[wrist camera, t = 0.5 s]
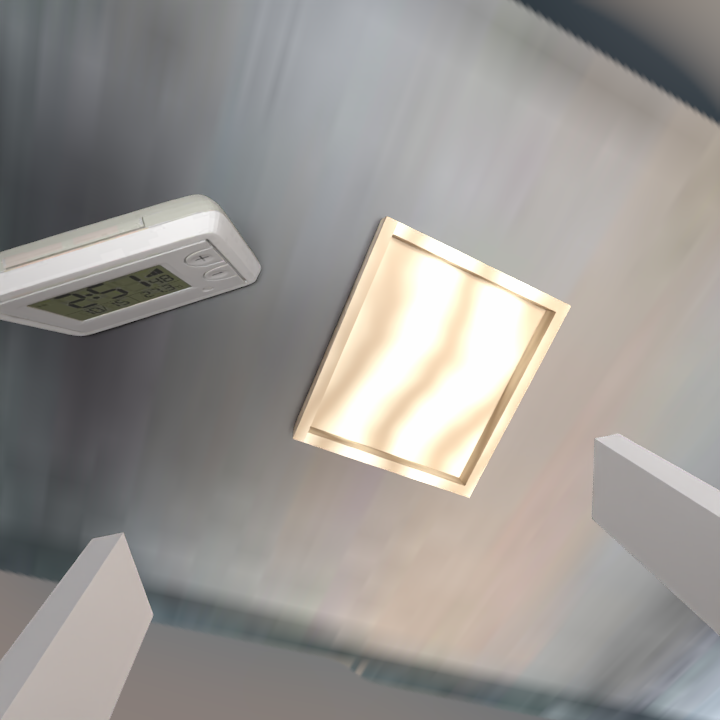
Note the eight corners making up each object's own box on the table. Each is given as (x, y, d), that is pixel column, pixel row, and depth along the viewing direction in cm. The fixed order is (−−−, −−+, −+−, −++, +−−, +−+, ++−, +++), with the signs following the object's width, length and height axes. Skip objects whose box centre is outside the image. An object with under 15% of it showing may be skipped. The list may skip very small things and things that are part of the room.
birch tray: (293, 426, 36) (292, 438, 34) (381, 219, 33) (386, 216, 30) (459, 483, 40) (469, 497, 37) (553, 303, 36) (571, 305, 34)
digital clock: (70, 335, 32) (-43, 369, 22) (36, 219, 30) (-108, 196, 19) (270, 313, 33) (252, 335, 23) (252, 201, 31) (225, 171, 21)
